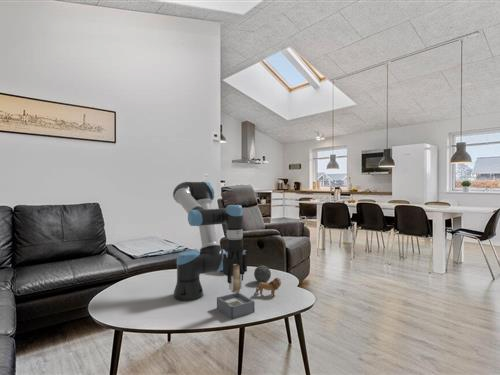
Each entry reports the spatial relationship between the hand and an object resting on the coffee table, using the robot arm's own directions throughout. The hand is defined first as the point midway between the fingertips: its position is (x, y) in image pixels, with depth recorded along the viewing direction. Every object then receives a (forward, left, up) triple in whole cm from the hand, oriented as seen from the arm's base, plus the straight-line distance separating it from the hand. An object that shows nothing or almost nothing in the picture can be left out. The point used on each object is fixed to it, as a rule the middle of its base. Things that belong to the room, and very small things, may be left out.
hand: (235, 288), depth 136 cm
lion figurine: (-7, +24, -10) cm, 27 cm away
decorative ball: (-25, +34, -10) cm, 43 cm away
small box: (-57, +30, -10) cm, 65 cm away
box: (0, 0, -10) cm, 10 cm away
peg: (0, 0, -1) cm, 1 cm away
